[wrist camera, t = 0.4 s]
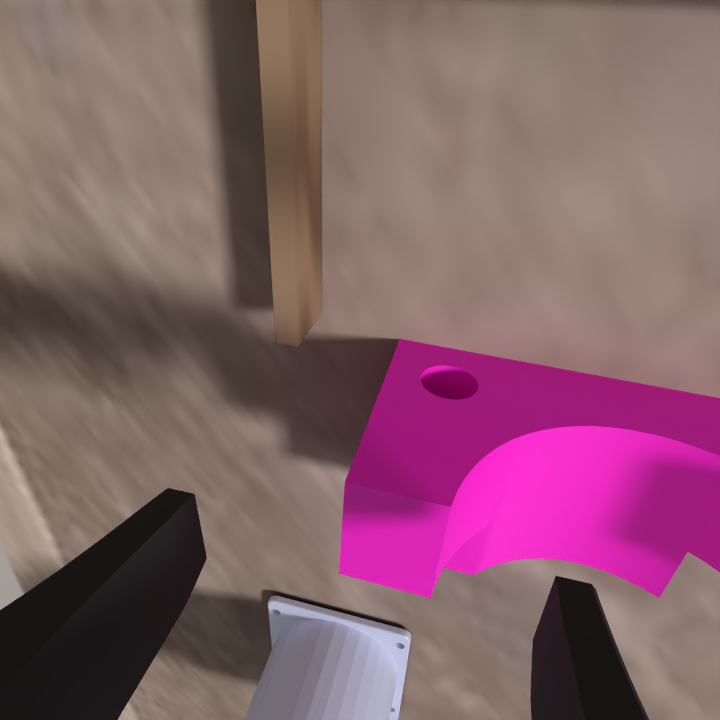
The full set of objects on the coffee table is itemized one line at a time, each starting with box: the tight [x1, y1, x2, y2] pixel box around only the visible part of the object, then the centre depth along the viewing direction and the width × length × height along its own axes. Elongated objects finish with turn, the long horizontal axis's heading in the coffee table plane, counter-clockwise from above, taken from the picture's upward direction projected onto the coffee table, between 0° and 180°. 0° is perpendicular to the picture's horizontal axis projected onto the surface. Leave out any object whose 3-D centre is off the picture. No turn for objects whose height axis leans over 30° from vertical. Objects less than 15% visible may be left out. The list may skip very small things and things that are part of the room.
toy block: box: [339, 339, 720, 598], centre depth 17 cm, size 15×6×8 cm, turn 86°
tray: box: [256, 0, 322, 347], centre depth 14 cm, size 11×23×2 cm, turn 88°
